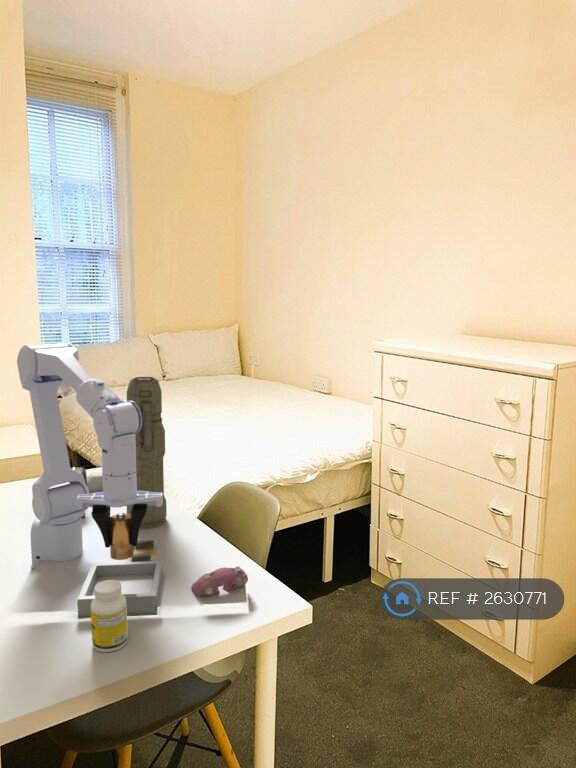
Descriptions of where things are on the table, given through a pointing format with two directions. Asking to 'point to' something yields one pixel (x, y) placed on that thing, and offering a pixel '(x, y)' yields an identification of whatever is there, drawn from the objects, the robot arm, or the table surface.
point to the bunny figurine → (95, 482)
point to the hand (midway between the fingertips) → (121, 544)
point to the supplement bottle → (109, 617)
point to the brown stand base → (144, 551)
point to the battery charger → (83, 472)
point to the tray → (135, 602)
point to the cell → (121, 536)
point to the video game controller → (219, 581)
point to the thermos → (149, 446)
